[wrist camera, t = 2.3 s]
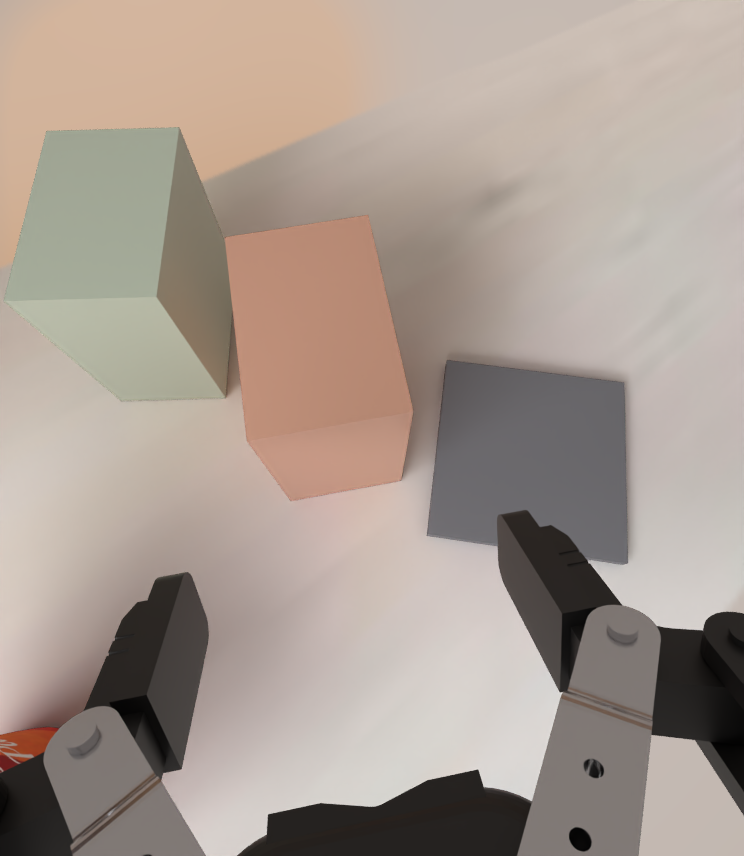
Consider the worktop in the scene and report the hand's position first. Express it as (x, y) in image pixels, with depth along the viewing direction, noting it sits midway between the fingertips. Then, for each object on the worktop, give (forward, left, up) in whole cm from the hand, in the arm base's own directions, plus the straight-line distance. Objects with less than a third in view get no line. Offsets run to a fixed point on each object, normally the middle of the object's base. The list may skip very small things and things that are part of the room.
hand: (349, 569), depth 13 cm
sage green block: (-13, +13, -13) cm, 23 cm away
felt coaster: (+8, +8, -13) cm, 18 cm away
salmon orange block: (-3, +9, -13) cm, 17 cm away
